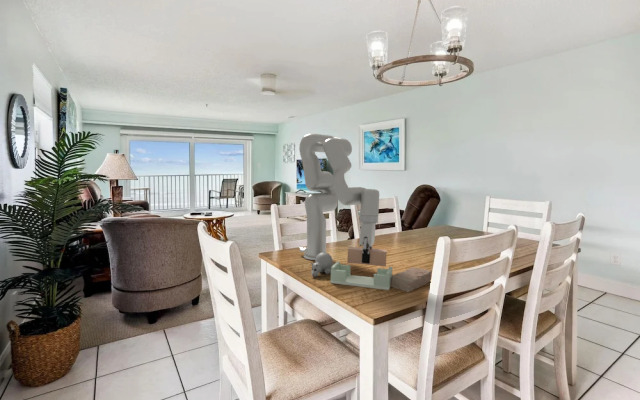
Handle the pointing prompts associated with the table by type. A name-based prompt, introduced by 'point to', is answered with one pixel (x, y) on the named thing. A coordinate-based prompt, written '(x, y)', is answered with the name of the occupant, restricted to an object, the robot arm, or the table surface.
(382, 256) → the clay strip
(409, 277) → the brick
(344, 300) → the table surface
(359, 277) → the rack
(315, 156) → the robot arm
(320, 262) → the chubby cartoon animal
